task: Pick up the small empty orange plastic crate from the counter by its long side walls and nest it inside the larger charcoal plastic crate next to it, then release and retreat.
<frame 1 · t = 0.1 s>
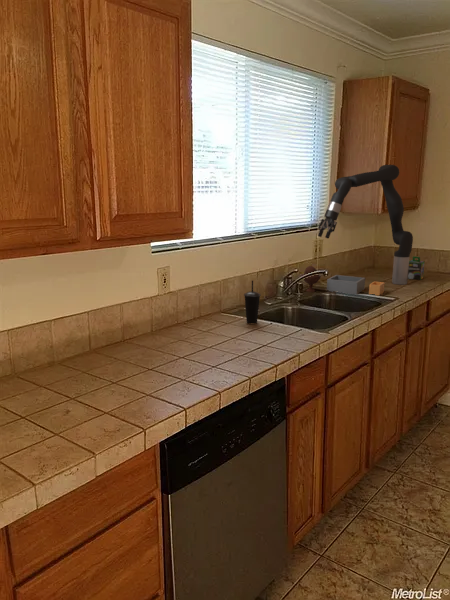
hand: (323, 237, 301), 31 cm above the worktop, tool tilted 20°, fingers open, 8 cm apart
chalk box: (414, 278, 342), on the worktop
ice cream bowl: (310, 291, 305), on the worktop
orange crate: (376, 293, 299), on the worktop
charcoal crate: (345, 290, 307), on the worktop
drinking cup: (251, 323, 239), on the worktop
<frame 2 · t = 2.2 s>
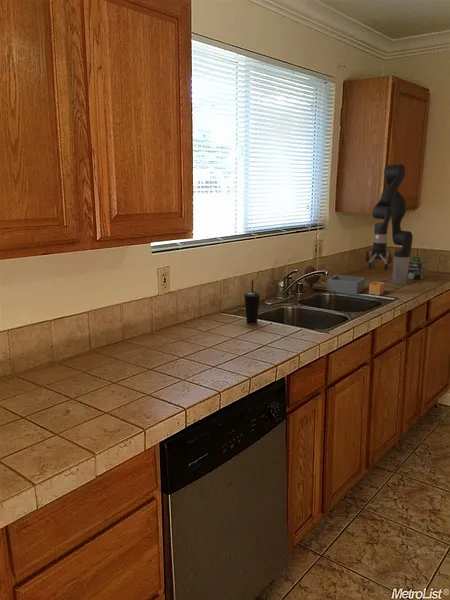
hand: (377, 269, 296), 14 cm above the worktop, tool pointing down, fingers open, 8 cm apart
nothing on the worktop moved.
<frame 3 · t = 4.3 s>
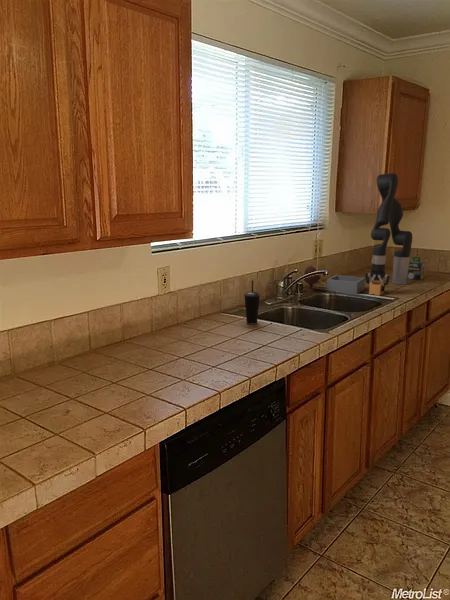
hand: (376, 291, 299), 1 cm above the worktop, tool pointing down, fingers closed on orange crate, 6 cm apart
orange crate: (376, 293, 299), on the worktop, touching gripper
everything else where it was.
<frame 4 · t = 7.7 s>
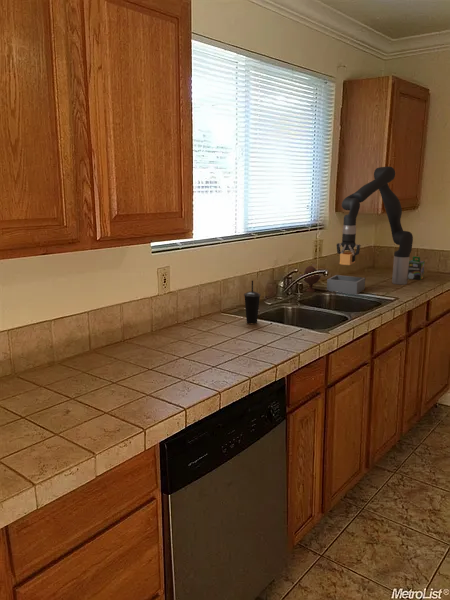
hand: (347, 261, 303), 17 cm above the worktop, tool pointing down, fingers closed on orange crate, 6 cm apart
orange crate: (347, 263, 303), point 16 cm above the worktop, touching gripper
everything else where it was.
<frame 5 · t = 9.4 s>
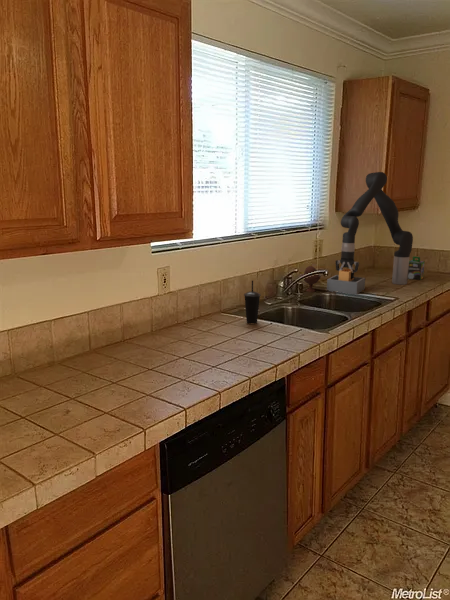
hand: (346, 278, 305), 7 cm above the worktop, tool pointing down, fingers closed on orange crate, 6 cm apart
orange crate: (346, 280, 306), point 6 cm above the worktop, touching gripper
everything else where it was.
when the fingers open (4 cm above the worktop, at t = 11.1 s): orange crate drops 1 cm, resting on charcoal crate.
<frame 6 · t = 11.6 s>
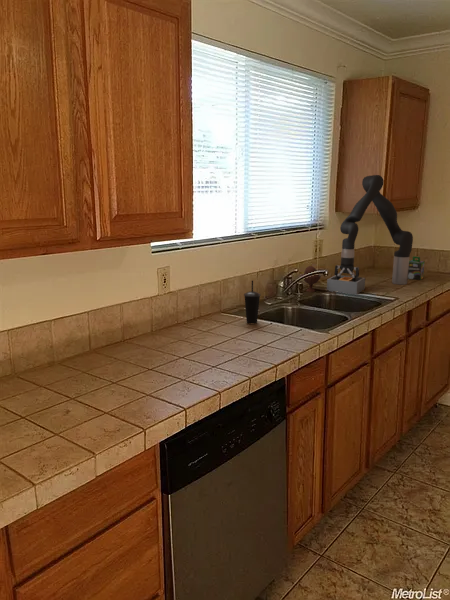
hand: (346, 283, 306), 4 cm above the worktop, tool pointing down, fingers open, 8 cm apart
orange crate: (345, 288, 307), point 1 cm above the worktop, touching charcoal crate
everything else where it was.
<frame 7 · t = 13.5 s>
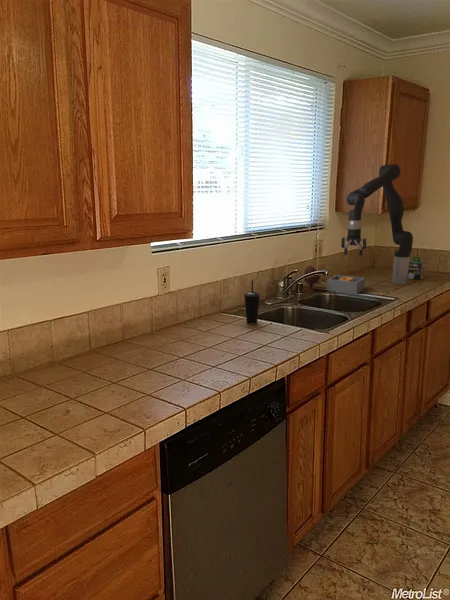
hand: (353, 255, 303), 21 cm above the worktop, tool pointing down, fingers open, 8 cm apart
nothing on the worktop moved.
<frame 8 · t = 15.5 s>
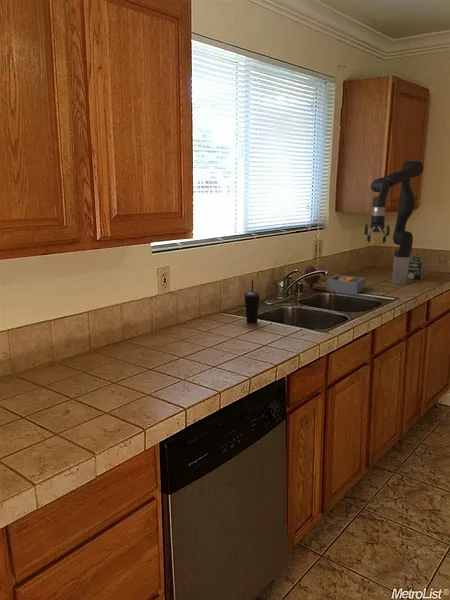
hand: (376, 242, 304), 28 cm above the worktop, tool pointing down, fingers open, 8 cm apart
nothing on the worktop moved.
at the end: orange crate inside the target area on the charcoal crate (0.1 cm from its centre), point 1.0 cm above the charcoal crate's base; orange crate tilted 0°; the gripper is holding nothing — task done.
